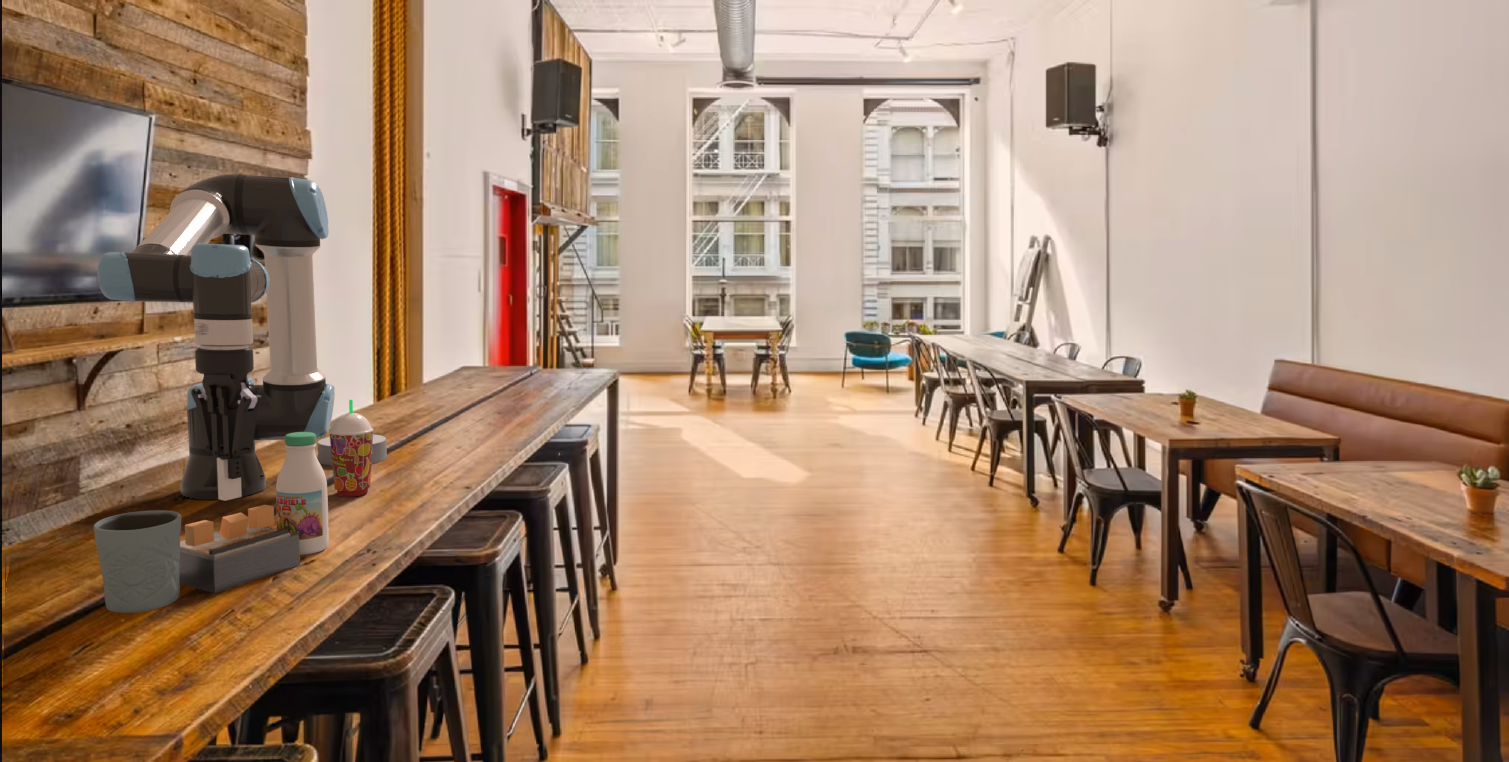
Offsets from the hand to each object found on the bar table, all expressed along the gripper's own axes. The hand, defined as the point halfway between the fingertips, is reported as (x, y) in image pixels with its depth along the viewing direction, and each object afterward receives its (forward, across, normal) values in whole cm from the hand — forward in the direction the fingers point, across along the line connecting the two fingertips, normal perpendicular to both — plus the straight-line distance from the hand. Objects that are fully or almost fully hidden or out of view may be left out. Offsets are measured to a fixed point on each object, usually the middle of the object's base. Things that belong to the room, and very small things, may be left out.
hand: (230, 497), depth 132 cm
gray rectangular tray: (+12, 0, 0) cm, 12 cm away
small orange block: (+7, 0, 0) cm, 7 cm away
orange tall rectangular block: (+7, 0, -5) cm, 8 cm away
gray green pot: (+12, 0, -13) cm, 18 cm away
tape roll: (+12, -46, +63) cm, 79 cm away
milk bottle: (+12, 0, +13) cm, 17 cm away
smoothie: (+12, -21, +41) cm, 48 cm away
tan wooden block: (+7, 0, +5) cm, 8 cm away
